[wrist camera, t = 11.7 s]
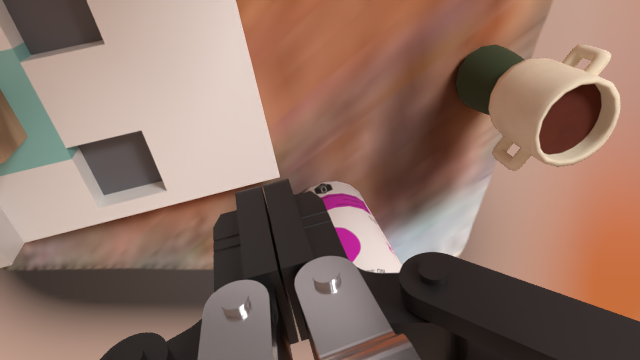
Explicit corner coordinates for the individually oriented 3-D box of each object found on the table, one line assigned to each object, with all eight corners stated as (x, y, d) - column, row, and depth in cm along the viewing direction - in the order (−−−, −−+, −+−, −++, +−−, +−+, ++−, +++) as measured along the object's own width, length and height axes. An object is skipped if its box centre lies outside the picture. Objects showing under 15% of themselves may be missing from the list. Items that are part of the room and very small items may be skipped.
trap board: (-153, -33, 28) (-227, -27, 23) (210, -100, 30) (209, -106, 26) (23, 229, 39) (-2, 268, 35) (276, 164, 42) (284, 193, 37)
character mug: (470, 136, 45) (555, 200, 34) (422, 106, 42) (497, 166, 31) (541, 44, 42) (659, 83, 31) (493, 4, 39) (606, 32, 28)
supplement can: (272, 212, 44) (298, 322, 32) (334, 163, 43) (386, 257, 30) (319, 253, 49) (358, 366, 36) (376, 210, 47) (437, 310, 35)
